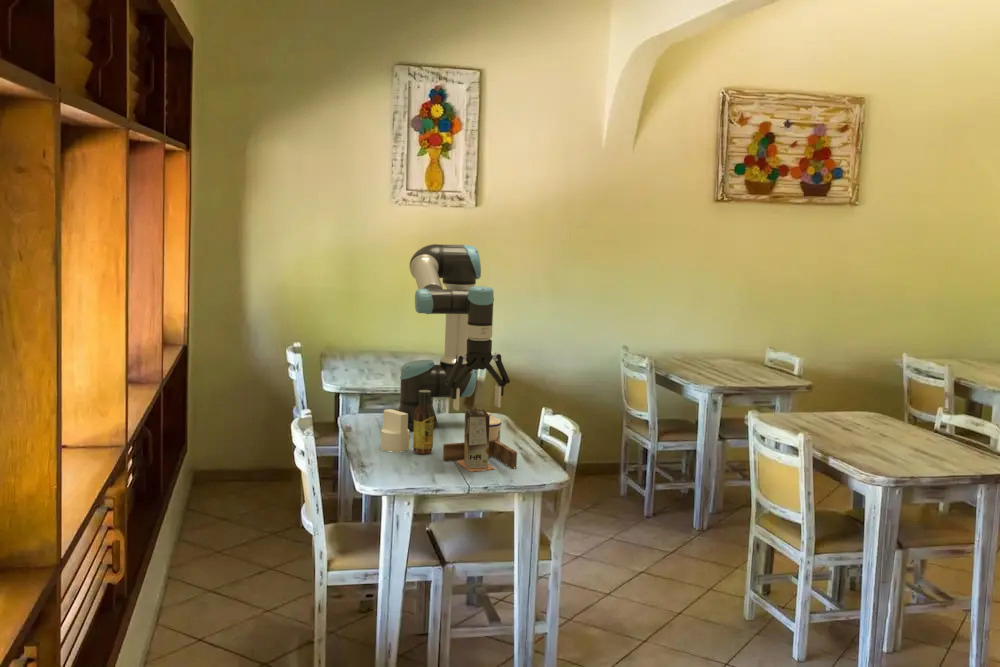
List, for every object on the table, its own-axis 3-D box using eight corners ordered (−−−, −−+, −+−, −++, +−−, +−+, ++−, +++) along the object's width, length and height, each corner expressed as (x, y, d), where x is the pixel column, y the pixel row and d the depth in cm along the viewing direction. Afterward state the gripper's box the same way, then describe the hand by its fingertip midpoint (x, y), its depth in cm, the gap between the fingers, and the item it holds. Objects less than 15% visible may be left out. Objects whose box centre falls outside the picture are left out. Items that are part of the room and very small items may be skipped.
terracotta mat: (456, 462, 273) (456, 460, 273) (480, 459, 276) (480, 458, 276) (470, 472, 263) (470, 470, 263) (494, 469, 266) (494, 468, 266)
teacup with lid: (502, 451, 286) (503, 416, 285) (474, 451, 285) (475, 416, 283) (496, 441, 298) (498, 407, 297) (470, 441, 297) (471, 407, 295)
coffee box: (488, 468, 266) (490, 416, 264) (467, 469, 264) (469, 416, 262) (483, 459, 275) (484, 409, 272) (462, 460, 273) (464, 409, 271)
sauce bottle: (427, 456, 278) (429, 394, 275) (409, 453, 280) (410, 391, 278) (436, 450, 284) (437, 390, 282) (418, 448, 286) (419, 388, 284)
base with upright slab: (414, 448, 286) (415, 412, 284) (393, 453, 279) (394, 416, 278) (396, 443, 292) (397, 407, 290) (375, 447, 285) (375, 411, 284)
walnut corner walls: (443, 459, 275) (443, 444, 274) (495, 454, 282) (496, 439, 282) (461, 473, 261) (462, 457, 261) (516, 467, 269) (517, 452, 268)
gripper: (445, 342, 255) (442, 413, 259) (522, 339, 266) (519, 408, 269) (435, 337, 262) (433, 407, 265) (511, 335, 273) (508, 402, 276)
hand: (477, 408), depth 267 cm, fingers open, 13 cm apart
